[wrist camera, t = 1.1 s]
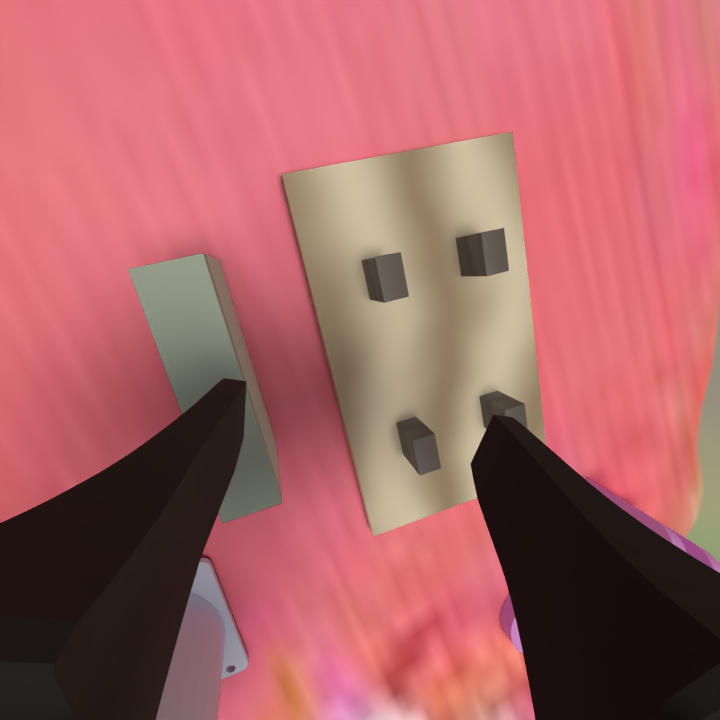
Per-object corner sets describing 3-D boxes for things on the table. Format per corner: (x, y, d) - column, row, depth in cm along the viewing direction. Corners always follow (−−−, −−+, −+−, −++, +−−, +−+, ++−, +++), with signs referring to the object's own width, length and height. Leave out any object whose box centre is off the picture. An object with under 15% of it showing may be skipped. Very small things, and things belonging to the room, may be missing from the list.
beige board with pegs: (368, 526, 24) (386, 566, 20) (280, 179, 19) (285, 158, 15) (538, 464, 26) (578, 491, 23) (501, 138, 21) (546, 112, 17)
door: (232, 456, 21) (222, 523, 15) (169, 271, 18) (128, 269, 13) (276, 442, 21) (282, 503, 16) (220, 260, 19) (202, 253, 13)
